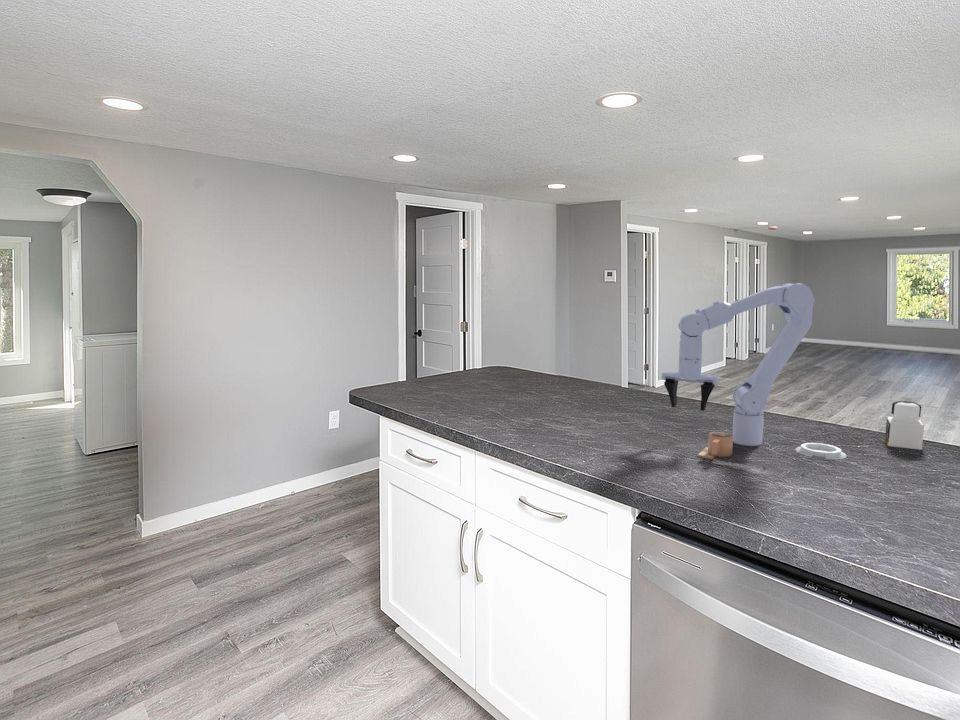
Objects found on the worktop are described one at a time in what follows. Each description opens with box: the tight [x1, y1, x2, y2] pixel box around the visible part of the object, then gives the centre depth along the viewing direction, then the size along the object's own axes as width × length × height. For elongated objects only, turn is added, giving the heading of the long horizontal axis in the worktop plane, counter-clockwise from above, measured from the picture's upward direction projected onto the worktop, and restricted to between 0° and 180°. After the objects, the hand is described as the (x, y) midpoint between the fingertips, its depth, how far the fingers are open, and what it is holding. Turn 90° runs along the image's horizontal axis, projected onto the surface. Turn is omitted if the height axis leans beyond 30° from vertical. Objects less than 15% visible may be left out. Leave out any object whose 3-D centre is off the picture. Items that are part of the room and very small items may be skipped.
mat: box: [697, 446, 731, 463], centre depth 143 cm, size 8×8×1 cm
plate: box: [795, 442, 847, 460], centre depth 142 cm, size 11×11×2 cm
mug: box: [707, 431, 734, 458], centre depth 140 cm, size 9×6×5 cm, turn 144°
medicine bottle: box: [884, 400, 925, 451], centre depth 147 cm, size 7×7×12 cm
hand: (688, 408), depth 154 cm, fingers open, 7 cm apart
